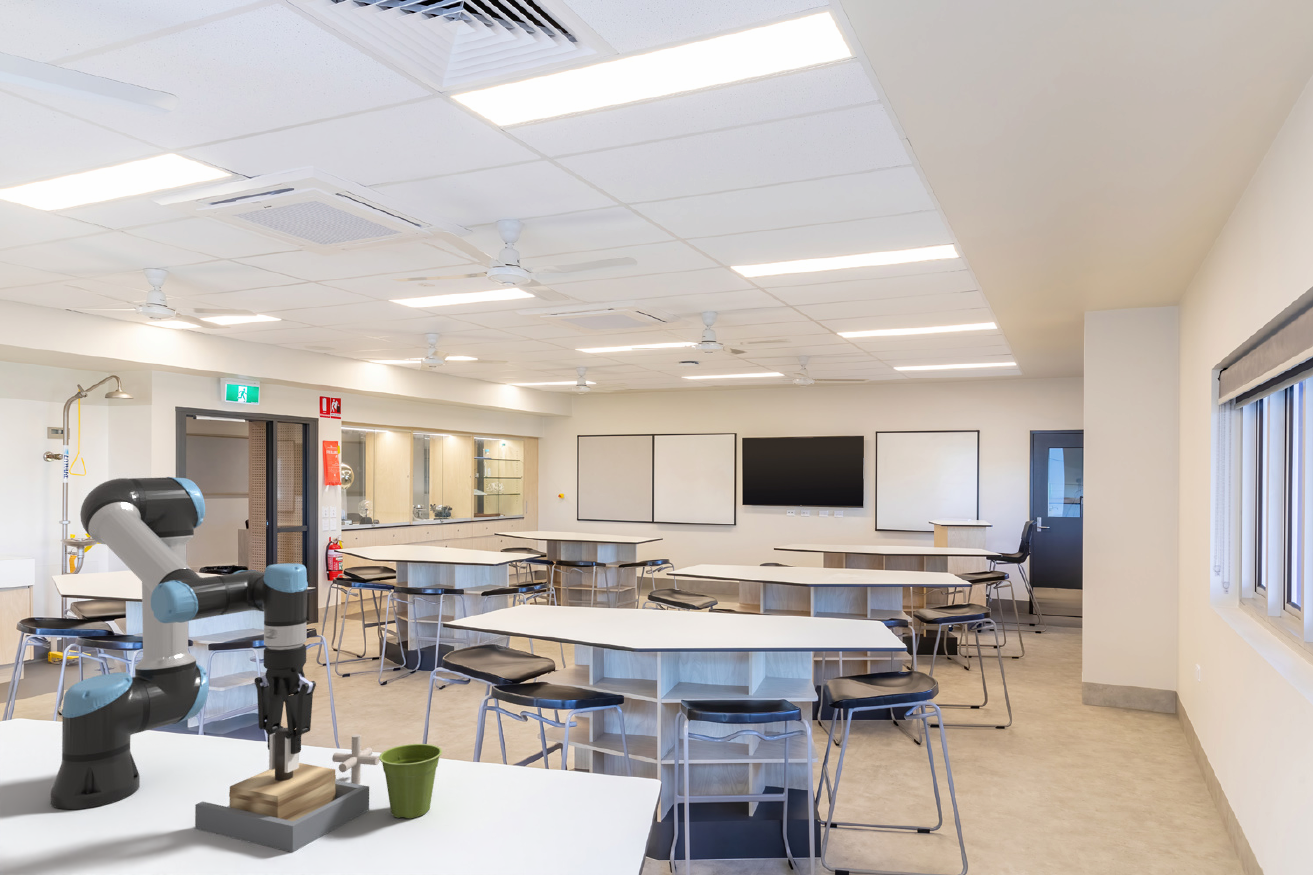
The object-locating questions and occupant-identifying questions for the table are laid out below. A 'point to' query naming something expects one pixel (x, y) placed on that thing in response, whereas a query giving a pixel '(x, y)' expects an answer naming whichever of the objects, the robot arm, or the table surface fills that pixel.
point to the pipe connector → (355, 759)
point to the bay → (281, 831)
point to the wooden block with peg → (285, 788)
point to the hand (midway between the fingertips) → (284, 768)
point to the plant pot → (410, 777)
